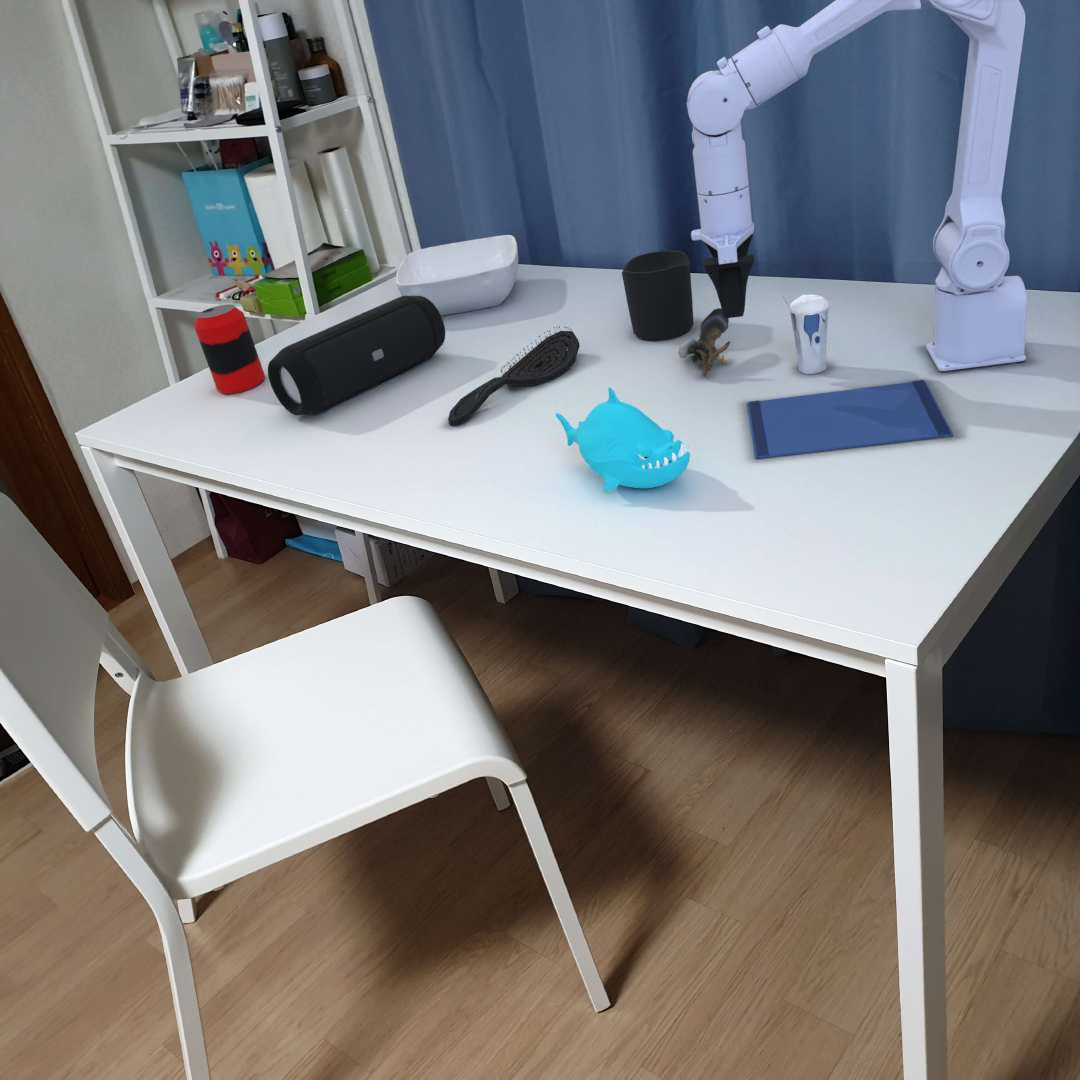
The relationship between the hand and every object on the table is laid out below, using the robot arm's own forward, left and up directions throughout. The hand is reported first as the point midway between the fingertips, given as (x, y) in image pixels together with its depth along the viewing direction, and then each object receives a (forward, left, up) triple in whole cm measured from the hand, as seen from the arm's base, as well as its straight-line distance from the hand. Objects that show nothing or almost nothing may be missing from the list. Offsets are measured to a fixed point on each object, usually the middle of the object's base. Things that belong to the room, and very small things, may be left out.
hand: (734, 305), depth 123 cm
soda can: (+76, -25, -10) cm, 80 cm away
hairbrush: (+30, -9, -10) cm, 33 cm away
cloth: (-10, +13, -10) cm, 20 cm away
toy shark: (+14, +21, -10) cm, 27 cm away
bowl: (+44, -51, -10) cm, 68 cm away
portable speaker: (+53, -17, -10) cm, 56 cm away
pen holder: (+10, -23, -10) cm, 27 cm away
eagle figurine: (+4, -8, -10) cm, 13 cm away
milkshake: (-8, -2, -10) cm, 13 cm away
